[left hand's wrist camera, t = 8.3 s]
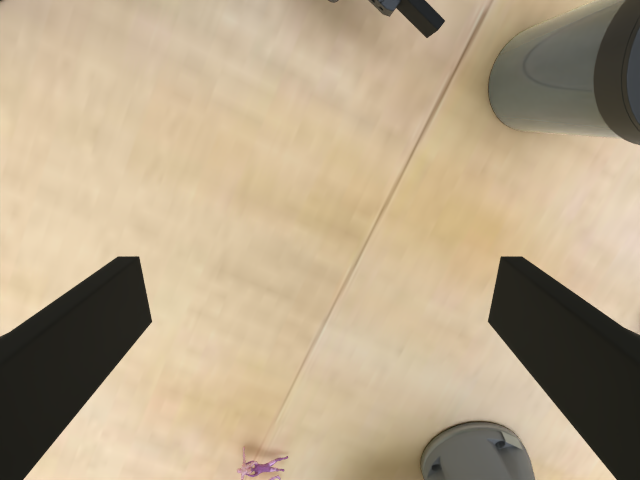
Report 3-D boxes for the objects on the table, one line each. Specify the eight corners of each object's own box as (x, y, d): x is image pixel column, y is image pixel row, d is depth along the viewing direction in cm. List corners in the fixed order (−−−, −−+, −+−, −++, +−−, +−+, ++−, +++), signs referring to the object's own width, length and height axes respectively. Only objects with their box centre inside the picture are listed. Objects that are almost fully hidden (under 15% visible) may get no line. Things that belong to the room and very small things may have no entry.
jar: (601, 24, 32) (860, -59, 16) (572, 132, 35) (766, 145, 20) (498, 22, 32) (664, -65, 16) (479, 130, 35) (603, 141, 20)
